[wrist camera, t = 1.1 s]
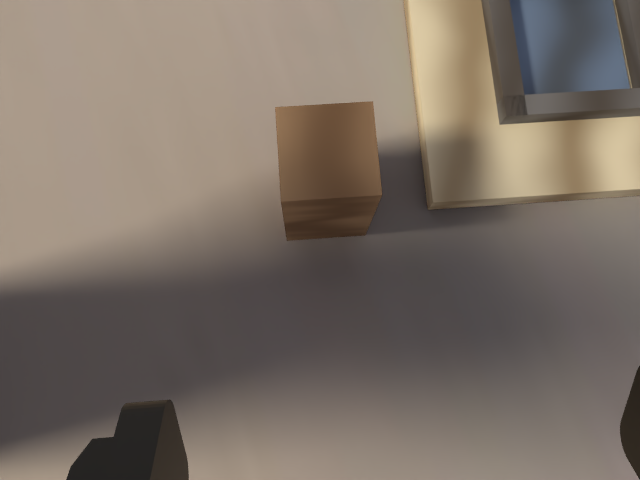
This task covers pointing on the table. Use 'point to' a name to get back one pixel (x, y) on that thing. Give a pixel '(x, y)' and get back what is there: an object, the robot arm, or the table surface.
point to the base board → (526, 99)
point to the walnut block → (328, 169)
